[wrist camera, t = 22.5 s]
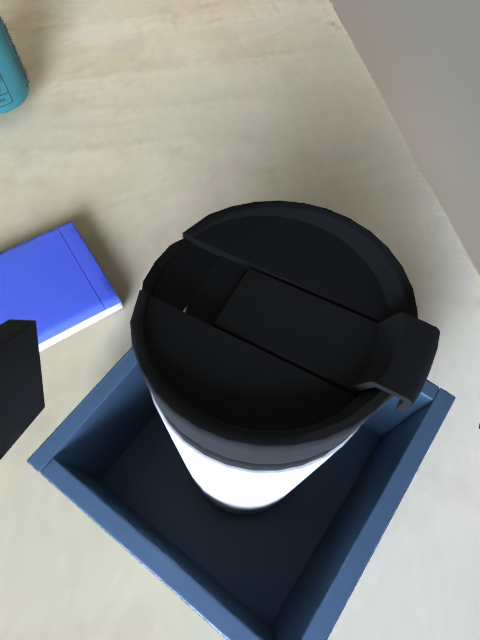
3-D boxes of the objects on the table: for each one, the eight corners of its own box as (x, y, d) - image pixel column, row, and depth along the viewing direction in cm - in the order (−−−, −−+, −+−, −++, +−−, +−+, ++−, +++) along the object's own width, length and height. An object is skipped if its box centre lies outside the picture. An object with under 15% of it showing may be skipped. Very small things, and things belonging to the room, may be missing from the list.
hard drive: (-65, 393, 28) (119, 298, 31) (-102, 295, 31) (70, 218, 34) (-51, 401, 29) (124, 309, 32) (-88, 306, 32) (76, 231, 35)
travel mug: (271, 540, 25) (378, 527, 7) (170, 480, 27) (52, 344, 9) (317, 440, 28) (480, 249, 10) (223, 390, 29) (216, 139, 11)
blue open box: (393, 438, 29) (456, 397, 21) (272, 649, 24) (295, 700, 16) (222, 322, 32) (221, 249, 24) (84, 485, 27) (25, 460, 19)
